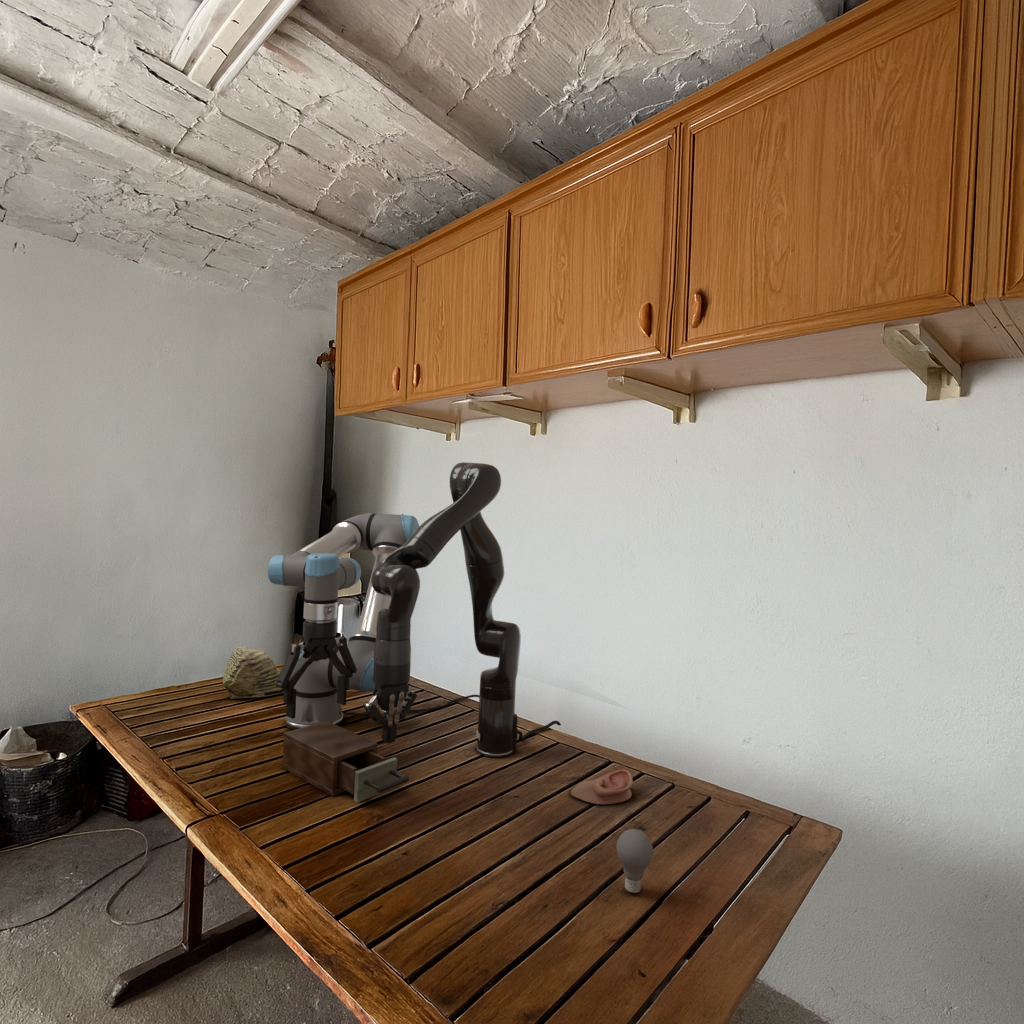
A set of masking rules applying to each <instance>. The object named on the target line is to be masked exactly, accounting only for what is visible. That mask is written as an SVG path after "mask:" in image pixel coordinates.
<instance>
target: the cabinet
mask: <svg viewBox="0 0 1024 1024" xmlns="http://www.w3.org/2000/svg"><path fill="white" fill-rule="evenodd" d="M282 742H283V743H282V744H283V746H282V769H284V770H286V771H287V772H289V773H291V774H293V775H295V776H296V777H298V778H300V779H301V780H303V781H305V782H307V783H309V784H311V785H312V786H314V787H316V788H317V789H319V790H320V791H322V792H325V793H326V794H328V795H330V796H332V797H335V796H336V795H339V794H342V793H344V792H347V791H346V790H344V789H342V788H340V787H338V786H337V769H338V761H340V760H343V759H346V758H349V757H352V756H355V755H358V754H361V753H363V752H366V751H369V750H370V751H372V752H374V753H376V754H378V743H377V742H375V741H373V740H371V739H369V738H367V737H364V736H362V735H359V734H357V733H355V732H353V731H351V730H348V729H346V728H344V727H341V726H340V725H339V726H337V725H335V724H333V723H330V722H328V721H324V722H321V723H317V724H314V725H310V726H306V727H303V728H299V729H296V730H292V729H291V730H289V731H285V732H283V741H282Z"/></svg>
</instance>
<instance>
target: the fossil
mask: <svg viewBox="0 0 1024 1024" xmlns="http://www.w3.org/2000/svg"><path fill="white" fill-rule="evenodd" d="M280 673H281V669H279V668H278V667H277V665H276V663H275V662H274V660H273V659H272V658H271V657H270V656H269V655H268V654H267V653H266V652H265V650H264V649H263V648H260V647H258V648H251V647H247V646H246V647H245V646H238V647H237V648H236V649H235V650H233V651H232V653H231V656H230V657H229V659H228V660H227V663H226V666H225V668H224V671H223V675H222V676H223V677H222V685H223V687H224V688H225V690H226V691H228V693H229V698H230V699H250V698H264V697H271V696H275V695H281V694H284V689H282V688H279V687H277V686H276V681H277V679H278V677H279V675H280Z"/></svg>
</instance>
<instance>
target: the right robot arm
mask: <svg viewBox="0 0 1024 1024" xmlns="http://www.w3.org/2000/svg"><path fill="white" fill-rule="evenodd" d="M501 488H502V476H501V473H500V471H499V469H498V468H497V467H496V466H494V465H492V464H488V463H482V462H481V463H480V462H479V463H478V462H463V461H461V462H458V463H456V464H454V465H453V467H452V469H451V470H450V475H449V490H450V495H451V499H452V504H450V505H449V506H448V505H447V506H446V507H445V508H444V509H441V510H439V511H438V512H437V513H435V514H433V515H432V516H430V517H429V518H427V519H426V520H424V521H423V522H422V523H421V524H419V528H418V529H417V530H416V531H415V532H414V533H413V535H412V536H411V537H410V538H409V539H408V540H407V542H406V543H405V544H404V545H402V546H401V547H399V548H398V549H396V550H395V551H394V552H392V553H391V554H390V555H388V556H387V557H386V558H384V559H383V560H382V561H381V562H380V563H379V564H378V565H377V567H376V568H375V570H374V572H373V574H372V573H371V575H372V578H371V577H370V579H371V583H372V587H373V589H374V590H375V591H376V592H377V593H379V594H381V595H385V596H390V597H391V602H390V605H389V608H385V609H382V610H381V611H379V613H378V616H377V628H376V643H375V649H374V672H373V681H374V684H375V688H374V691H372V697H371V698H370V700H369V701H364V702H363V703H362V707H363V708H364V710H365V711H366V713H368V714H369V715H368V716H370V718H371V719H372V721H373V722H374V723H375V724H377V725H381V740H382V742H383V743H386V744H387V745H390V744H392V743H395V742H396V739H397V737H398V736H397V735H398V724H399V723H400V721H402V720H405V719H406V718H407V715H408V714H409V713H410V712H409V710H411V708H412V707H413V705H414V703H415V701H416V699H417V697H418V694H417V693H416V692H414V691H412V690H411V689H410V685H409V682H410V680H411V663H412V661H411V660H412V643H411V635H412V634H411V633H412V617H413V614H414V611H415V607H416V604H417V600H418V597H419V594H420V589H421V578H420V575H419V572H418V570H419V569H423V568H427V567H428V566H430V565H431V564H432V563H433V561H434V560H435V559H436V558H437V557H438V555H439V554H440V553H441V552H442V550H443V549H444V548H445V547H446V545H448V543H449V542H450V541H451V540H452V539H453V538H454V536H455V535H456V534H457V533H458V532H460V536H461V542H462V546H463V547H462V548H463V552H464V562H465V569H466V573H467V579H468V583H469V590H470V597H471V598H470V599H471V605H472V618H473V635H474V636H473V637H474V643H475V647H476V650H477V652H478V653H479V654H481V655H483V656H486V657H491V658H496V659H498V665H497V666H495V667H490V668H486V669H484V670H482V671H481V673H480V676H479V695H480V696H479V697H478V700H479V701H478V719H477V720H478V721H477V729H476V738H477V739H476V742H477V743H476V751H477V753H479V754H481V755H482V756H486V757H490V758H502V757H507V756H509V755H511V754H513V753H516V752H517V740H518V739H519V740H520V741H523V740H525V739H526V738H528V737H529V736H531V735H532V734H534V733H537V732H538V733H539V732H541V731H544V730H547V729H548V728H550V727H552V726H553V725H557V726H562V724H561V722H560V721H559V720H552V721H551V722H549V723H547V724H545V725H542V726H539V727H537V728H533V729H531V730H529V731H527V732H526V733H525V734H523V732H522V731H521V730H519V729H518V714H517V713H516V712H515V710H516V690H517V689H516V688H517V687H516V686H517V677H518V673H519V665H520V655H521V654H520V653H521V643H522V635H521V629H520V627H519V625H518V624H516V623H515V622H511V621H510V622H509V621H503V620H496V619H494V615H493V602H494V600H495V597H496V596H497V593H498V591H499V589H500V588H501V586H502V583H503V581H504V579H505V564H504V556H503V552H502V548H501V545H500V543H499V542H498V539H497V538H496V536H495V535H494V533H493V531H492V530H491V529H490V527H489V526H488V525H487V523H486V520H485V519H484V516H483V515H482V511H483V510H484V509H485V508H486V507H488V506H489V505H490V504H491V503H492V502H493V501H494V500H495V499H496V497H497V496H498V495H499V493H500V490H501ZM402 709H403V711H402Z"/></svg>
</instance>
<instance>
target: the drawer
mask: <svg viewBox="0 0 1024 1024" xmlns="http://www.w3.org/2000/svg"><path fill="white" fill-rule="evenodd" d="M409 781H410V777H409V775H403V774H401V773H399V772H398V758H397V757H391V758H388V759H387V757H385V756H383V755H381V754H378V753H377V754H376V753H374V752H372V751H370V750H369V751H366V752H363V753H361V754H358V755H355V756H352V757H349V758H346V759H343V760H340V761H338V769H337V786H338V787H340V788H342V789H344V790H346V791H345V792H348V793H349V794H351V795H353V801H354V802H355V803H360V802H363V801H365V800H367V799H370V798H372V797H375V796H377V795H380V794H382V793H385V792H387V791H390V790H392V789H395V788H397V787H398V786H400V785H402V784H405V783H407V782H409Z"/></svg>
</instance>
